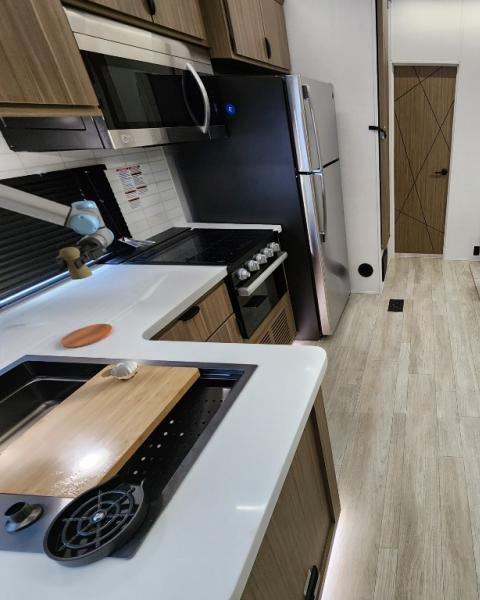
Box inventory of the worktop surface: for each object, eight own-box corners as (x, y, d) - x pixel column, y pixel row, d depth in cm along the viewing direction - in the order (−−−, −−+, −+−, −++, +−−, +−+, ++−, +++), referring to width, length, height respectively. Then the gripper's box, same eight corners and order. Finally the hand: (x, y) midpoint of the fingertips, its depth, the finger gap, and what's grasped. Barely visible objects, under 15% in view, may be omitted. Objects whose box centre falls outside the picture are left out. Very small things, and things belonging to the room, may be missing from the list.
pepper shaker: (86, 278, 121) (71, 250, 115) (67, 280, 119) (51, 251, 114) (96, 272, 126) (82, 244, 120) (77, 273, 125) (62, 246, 119)
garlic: (119, 387, 88) (111, 372, 86) (112, 378, 91) (104, 364, 89) (145, 374, 92) (137, 360, 90) (137, 367, 95) (130, 353, 93)
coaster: (50, 347, 104) (49, 346, 104) (85, 325, 115) (84, 323, 115) (90, 347, 104) (90, 346, 103) (122, 325, 115) (121, 323, 115)
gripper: (120, 251, 139) (102, 272, 120) (69, 257, 133) (42, 280, 114) (113, 234, 135) (93, 252, 116) (60, 239, 129) (30, 260, 111)
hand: (68, 266), depth 115 cm, fingers closed on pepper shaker, 4 cm apart
